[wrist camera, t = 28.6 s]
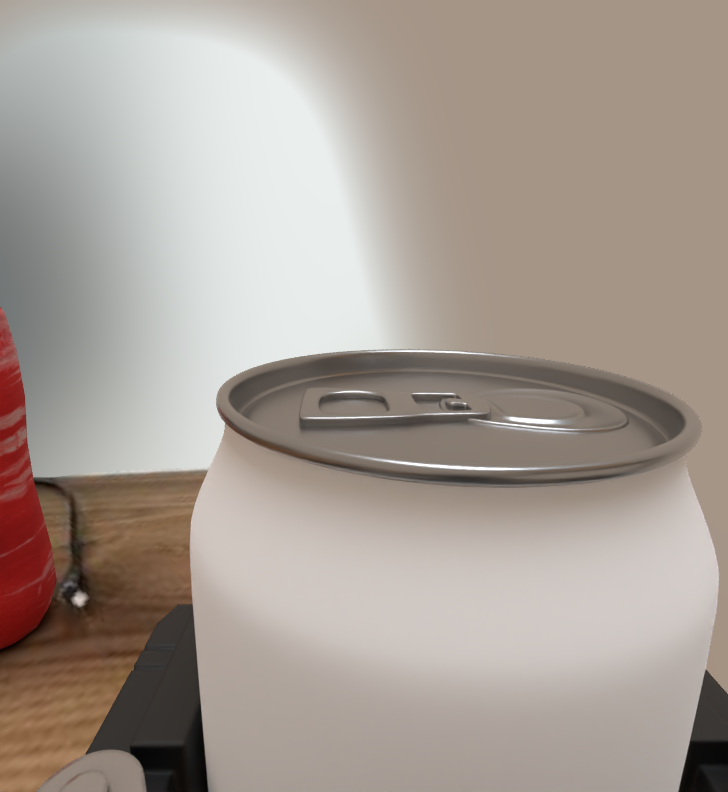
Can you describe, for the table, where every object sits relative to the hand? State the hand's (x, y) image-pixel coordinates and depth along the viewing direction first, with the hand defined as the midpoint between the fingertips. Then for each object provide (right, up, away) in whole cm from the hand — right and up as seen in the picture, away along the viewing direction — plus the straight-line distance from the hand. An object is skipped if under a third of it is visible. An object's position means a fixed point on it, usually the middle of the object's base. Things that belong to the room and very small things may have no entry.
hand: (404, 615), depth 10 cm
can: (0, -7, -1) cm, 7 cm away
